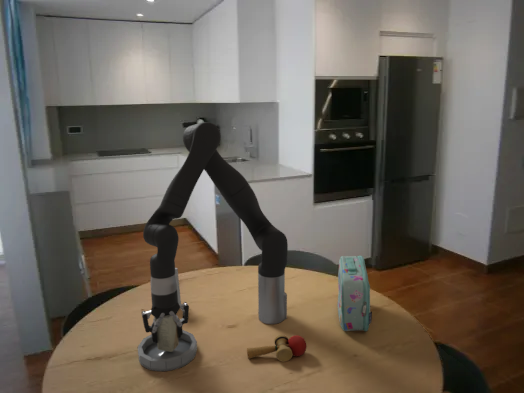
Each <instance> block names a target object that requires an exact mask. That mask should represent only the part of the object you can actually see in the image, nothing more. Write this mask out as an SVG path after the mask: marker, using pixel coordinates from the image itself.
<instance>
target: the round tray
mask: <svg viewBox="0 0 524 393" xmlns="http://www.w3.org/2000/svg"><path fill="white" fill-rule="evenodd" d="M182 331H183V334H182V335H181V338H178V342H179V345H178V346H177V347H176V348H175V349H174V350H173V351H172V352H170V351H164V350H159V349H158V345H157V343H156V344H155V342H153V341H152V335H151V334H149V335H147V336H146V337H144V338H143V339H142V340H140V343H139V344H138V346H137V354H138V362H139V364H140V365H141V366H142V367H143V368H144V369H147V370H149V371H153V372H168V371H169V372H170V371H175V370H177V369H180V368H183V367H185V366H187V365H188V364H189V363H190V362H192V361H193V360H194V358H195V357H196V355H197V351H198V350H197V349H198V344H197V343H198V341H197V339H196V338H195V336H194V334H193V333H191V332H189V331H187V330H184V329H182Z"/></svg>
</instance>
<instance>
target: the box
mask: <svg viewBox="0 0 524 393" xmlns="http://www.w3.org/2000/svg"><path fill="white" fill-rule="evenodd" d="M155 321H157V319H156V318H155ZM156 331H157V339H158V343H157V345H158V349H159V350H164V351H170V352H172V351H173V350H174V349H175V348H176V347H177V346H178V345H179V342H178V330H177V323H176V322H175V321H174V319H173V316H171V315H167V316H164V317H163V319H162V321H161V323H160V325H159V326H158V328H157V330H156Z"/></svg>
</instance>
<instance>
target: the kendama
mask: <svg viewBox="0 0 524 393" xmlns="http://www.w3.org/2000/svg"><path fill="white" fill-rule="evenodd" d="M273 341H274V342H273V343H274V345H269V346H268V345H265V346H256V347H246V353H247V359H248V360H250V359H253V358H256V357H260V356H264V355H269V354H271V353H274V352H275V355H276V359H277V360H278V361H280V362H288V361H290V360H291V359H292V357H300V356H302V355H304V354H305V353H306V351H307V347H308V346H307V342H306V340H305V338H304V337H303V336H300V335H298V334H296V335H292V336H290V337H288V336H287V335H285V334H278V335H276V336H275V338H274V340H273Z"/></svg>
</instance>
